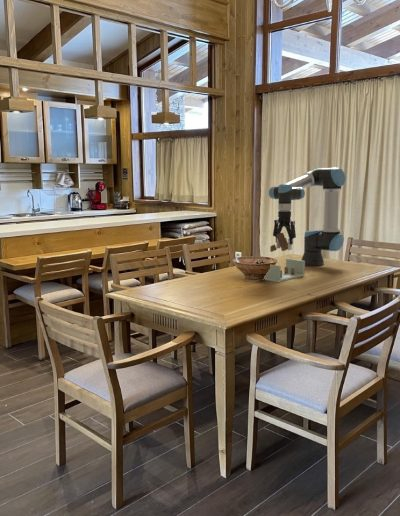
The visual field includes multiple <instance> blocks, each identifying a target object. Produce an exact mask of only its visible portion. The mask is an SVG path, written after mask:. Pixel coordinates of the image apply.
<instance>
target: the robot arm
mask: <svg viewBox="0 0 400 516" xmlns="http://www.w3.org/2000/svg"><path fill="white" fill-rule="evenodd" d="M345 183H346V174H345V171H344V170H343V169H342V168H340V167H318V168H315V169H312V170H310V171H307V172H305V173H303V175H302V176H298V177H297V178H294V179H293V180H290V181H288V182H285V183H283V184H279V185H278V186H271V187H270V188H269V190H268V196H269V198H270V199H272V200H278V207H277V210H278V212H277V217H278V218H277V219H274V220H273V223H274V225H273V231H272V236H273V237H274V238H275V243H276V244H275V246H276V249H281V247H280V244H279V241H278V239H277V236H276V235H277V234H280V233H282V231H283V228H285V229H286V232H287V234H288V235H287V236H288V239H287V242H288V249H287V250H288V251H291V250H292V249H293V244H294V239H296V238H297V234H296V227H295V224H296V221H295V220H292V219H291V217H292V201H299V200H302V199H304V198H305V195H306V191H305V188H310V187H315V186H319V187H320V186H321V187H322V190H323V191H324V226H323V228H322V229H313V230H306V231H305V232H304V237H303V238H304V239H303V241H304V245H303V246H304V247H303V254H302V257H301V260H302V261H305V266H323V265H324V264H325V260H324V256H323V254H322V251H329V252H338V251H340V250H341V248H342V247H343V244H344V241H345V240H344V239H345V238H344V234H342V233H341V230H340V229H339V200H340V199H339V195H340V194H339V193H340V191H341V190H342V187H343V186H344V185H345Z"/></svg>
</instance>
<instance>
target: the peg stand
mask: <svg viewBox="0 0 400 516" xmlns="http://www.w3.org/2000/svg"><path fill="white" fill-rule="evenodd" d="M305 266H306V265H305V261H302V259H293V258H288V257H287V258H285V266H284V269H283V270H284V271H283V270H281V267H282V266H281V265H274V264H270V269H269V270H268V272H267V273H266V275H265V276H264V279H265V281H270V282H274V283H275V282H276V283H281V282H285V281H290V280H293V279H297V278H301V276H302V277H304V276H306V275H305V274H306V273H305V270H306V267H305ZM264 279H263V280H264Z"/></svg>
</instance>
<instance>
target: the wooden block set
mask: <svg viewBox="0 0 400 516" xmlns="http://www.w3.org/2000/svg"><path fill="white" fill-rule="evenodd" d="M276 236H277V239H278V241H279V244H280V249H281V251H282V252H285V251H287V250H288V239H287V237H285V234H284V232H281V233H280V234H277V235H276ZM269 247H270V250H269V251H270V252H271V253H273V252H275V251H277V249H276V244H272V245H270V246H269Z"/></svg>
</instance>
